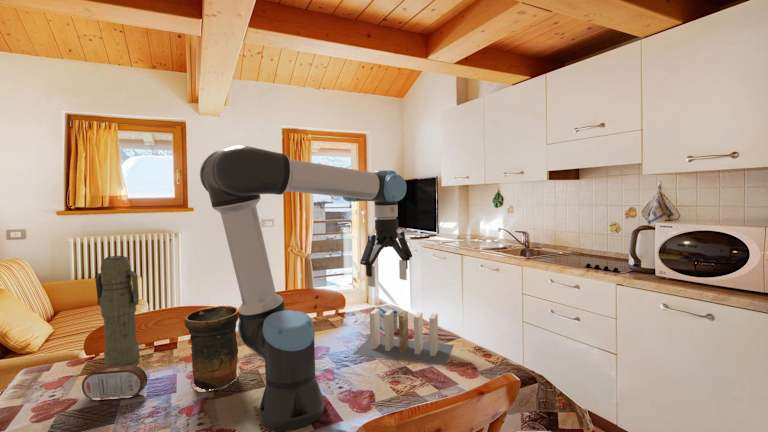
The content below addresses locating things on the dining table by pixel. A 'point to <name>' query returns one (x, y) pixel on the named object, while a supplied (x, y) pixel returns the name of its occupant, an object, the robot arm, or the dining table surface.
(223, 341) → the vessel
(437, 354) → the mat
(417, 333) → the domino
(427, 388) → the dining table surface
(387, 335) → the domino
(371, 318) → the domino
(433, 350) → the domino
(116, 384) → the tin
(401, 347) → the oak domino
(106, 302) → the stone statue
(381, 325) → the medicine box
